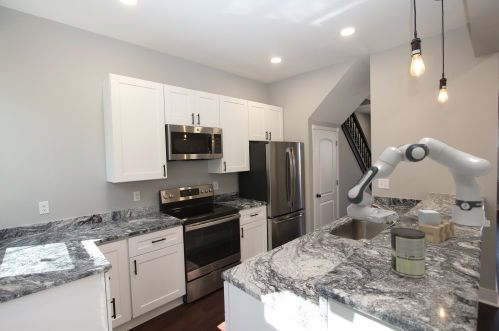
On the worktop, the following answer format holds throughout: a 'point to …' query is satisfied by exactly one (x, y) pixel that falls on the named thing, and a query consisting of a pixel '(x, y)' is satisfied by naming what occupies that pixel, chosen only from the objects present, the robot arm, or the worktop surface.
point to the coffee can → (408, 252)
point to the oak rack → (438, 231)
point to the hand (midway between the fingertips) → (397, 219)
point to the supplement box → (429, 217)
